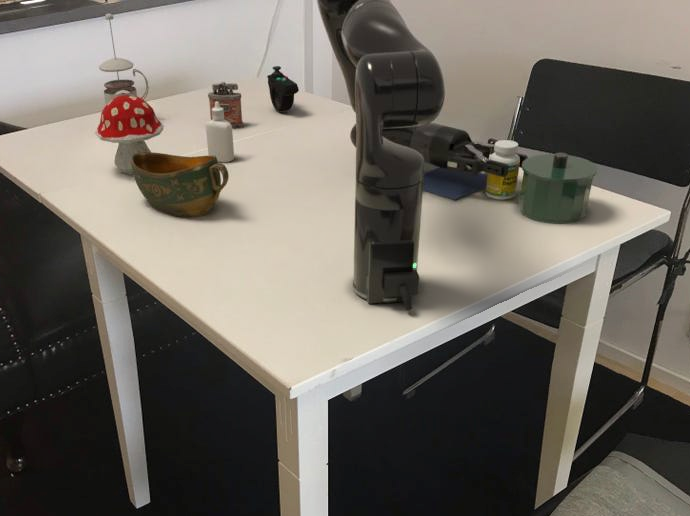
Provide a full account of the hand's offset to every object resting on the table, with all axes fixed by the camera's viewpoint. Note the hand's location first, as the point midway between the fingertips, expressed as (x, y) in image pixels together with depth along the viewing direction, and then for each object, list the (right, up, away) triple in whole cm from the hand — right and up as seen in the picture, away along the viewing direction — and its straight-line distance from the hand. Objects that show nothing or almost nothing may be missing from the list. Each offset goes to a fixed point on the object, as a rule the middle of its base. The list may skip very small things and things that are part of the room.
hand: (516, 166), depth 136 cm
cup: (-60, -6, +6) cm, 61 cm away
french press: (-78, +23, +51) cm, 96 cm away
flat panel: (-9, 0, +11) cm, 14 cm away
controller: (-41, +27, +54) cm, 73 cm away
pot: (+6, -8, -2) cm, 10 cm away
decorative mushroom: (-72, +6, +24) cm, 76 cm away
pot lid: (+5, -2, -6) cm, 8 cm away
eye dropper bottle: (-54, +8, +27) cm, 61 cm away
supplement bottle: (-2, -4, +5) cm, 7 cm away
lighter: (-54, +21, +46) cm, 74 cm away
